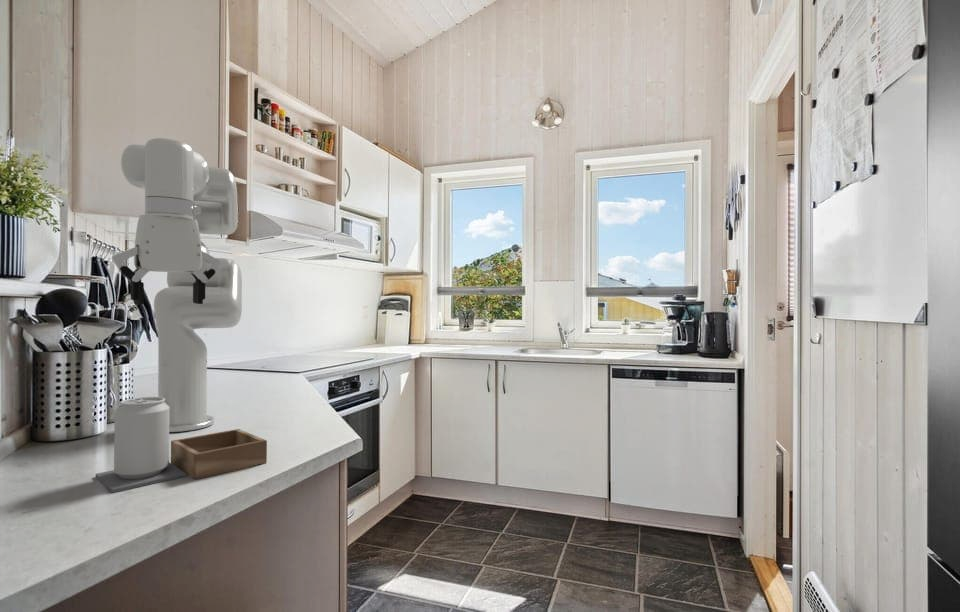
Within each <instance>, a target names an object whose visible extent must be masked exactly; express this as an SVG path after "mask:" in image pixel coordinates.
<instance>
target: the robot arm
mask: <svg viewBox="0 0 960 612" xmlns="http://www.w3.org/2000/svg"><path fill="white" fill-rule="evenodd" d="M120 165H121V171H122V174H123V176H124V178H125V179H126V181H127V182H128V184H130V185H132V186H134V187H136V188H139V189H143V190H144V214H140V215H139V216H138V219H137V220H138V221H137V225H136V231H135V240H134V247H131V248H130V249H126V250H124V251H121V252H118V253H116V254H114V255H112V256H111V260H112V262H113V263H114V265H115V266H116V268H117V269H118V272H120V274H121V275H123V276H124V277H125V278H126V279H127V280H128V281H129V282H130V299H131V301H133V304H134V305H137V306H142V305H144V304H145V303H144V302H145V295H144V294H145V283H144V282H143V281H142V279H143V278H144V277H145V276H146V275H147V274H148V273H149V272H158V273H159V272H160V273H161V272H162V273H167V274H166V284H167V287H164V288H162V289H160V290H159V291H158V292H157V293H156V294H155V296H154V301H153V309H154V316H155V317H154V318H155V321H156V328H157V340H158V342H157V344H158V347H157V348H158V349H157V350H158V355H157V356H158V359H157V361H158V363H157V364H158V367H157V368H158V370H157V371H158V372H157V373H158V376H157V377H158V378H157V383H158V384H157V397H163V398H165V401H164V402H165V403H166V404H167V405H168V406H169V433H177V432H178V433H179V432H188V431H189V432H190V431H194V430H200V429H204V428H208V427H210V426H212V425H213V424H214V423H215V417H214V416H212V415H207V396H208V395H207V393H208V392H207V390H208V389H207V388H208V387H207V385H208V380H207V379H208V349H207V345H206V344H205V342H204V340H203V339H202V337H200V336H199V335H198V334H197V333H196V331H195V330H196V329H198V330H199V329H228V328H233V327H235V326H237V325H238V324H239V322H240V320H241V317H242V309H243V308H242V305H243V303H242V302H243V301H242V300H243V298H242V297H243V293H242V292H243V291H242V289H243V288H242V287H243V286H242V285H243V284H242V281H243V279H242V272H241V271H242V270H241V268H240V265H239V264H238V263H237V261H235V260H234V259H230V258H226V257H225V258H223V257H214V256H212V255H210V250H209V247H207V245H206V244H205V243H204V242H203V241H202V239H201V235H203V234H204V235H218V236H219V235H220V236H228V235H229V236H230V235H232V234H234V233H235V232H236V230H237V229H238V223H239V213H238V211H239V210H238V187H237V182H236V178H235V176H234V174H233V173H232V172H231V171H230V170H229V169H227V168H223V167H217V166H216V167H214V166H209V163H208V162H207V161H206V160H205V158H204V157H203V156H202V155H201V154H200V153H199V152H197V151H194V150H193V149H192V146H190V145H189V143H188V144H187V143H186V142H183V141H180V140H177V139H173V138H172V139H171V138H164V137H163V138H161V137H159V138H158V137H156V138H155V137H154V138H151V139H149V140H147V142H146V143H145V144H130V145H128V146H126V147H125V148H124V150H123V151H122V154H121V158H120ZM132 257H133V265H134V267H135V269H133V270H132V269H131V268H130V267H129V266H127V263H126V260H127V259H130V258H132Z"/></svg>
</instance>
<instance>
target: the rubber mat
mask: <svg viewBox="0 0 960 612" xmlns="http://www.w3.org/2000/svg"><path fill="white" fill-rule="evenodd" d="M185 477H187V474H186V473H185V472H183V471H182V470H180V469H179V468H177V467H176V466H174V465H173V464H171V462H169V465H168V466H167V467H166V468H165V469H164V470H163V471H162V472H161V473H159V474H156V475H153V476H149V477H145V478H137V479H125V478H122V477H120V476H119V475H118V474H116V473H115V472H114V469H113V470H108V471H107V470H106V471H103V472H99V473H95V478H96V479H97V480H98V481H99V482H100V483H101V484H103V486H104V487H106V489H108V491H109V492H110V493H112V494H113V493H118V492H123V491H127V490H131V489H135V488H141V487H145V486H148V485H149V486H150V485H152V484H159V483H162V482H168V481H171V480H176V479H180V478H185Z"/></svg>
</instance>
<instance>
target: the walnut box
mask: <svg viewBox="0 0 960 612" xmlns="http://www.w3.org/2000/svg"><path fill="white" fill-rule="evenodd" d="M267 443H268V440H267V439H265V438H261V437H259V436H256V435H254V434H252V433H249V432H247V431H245V430H242V429H240V428H236V429H231V430H224V431H220V432H219V431H218V432H214V433H207V434H202V435H197V436H191V437H186V438H185V437H184V438H180V439H174V440H171V441H170V463H171V464H173V465H174V466H176V467H177V468H179V469H180V470H182V471H183V472H185V473H186V475H189V477H191V478H193V479H194V480H199V479H203V478H204V477H205V478H208V476H209V477H212V476H213V477H214V476H217V474H218V475H222V474H226V473H230V472H233V470H235V471H239V470H243V469H247V468H250V467H249V466H252V467H254V466H253V465H256V466H259V465H258V464H260V465H263V464H262V463H265V464H267V463H266V462H267V460H268V459H267V454H268V449H267V448H268V447H267V445H268V444H267ZM246 467H247V468H246ZM242 468H243V469H242ZM238 469H239V470H238ZM229 471H230V472H229ZM225 472H226V473H225ZM221 473H222V474H221Z"/></svg>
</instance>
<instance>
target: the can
mask: <svg viewBox="0 0 960 612" xmlns="http://www.w3.org/2000/svg"><path fill="white" fill-rule="evenodd" d="M164 401H165V398H163V397H158V396H144V397H143V396H142V397H133V398H128V399H127V398H126V399H124V400H123V399H122V400H121V401H120V402H119V407H117V409H116V410H115V411H114V433H113V435H114V437H113V438H114V440H113V441H114V443H113V444H114V445H113V446H114V447H113V449H114V450H113V453H114V454H113V457H114V458H113V468H114V469H113V470H114V472H115V473H116V474H118V475H119V476H120V477H122V478H125V479H137V478H145V477H149V476H153V475H156V474H159V473H161V472H162V471H163V470H164V469H165V468H166V467H167V466H168V465H169V463H170V432H169V406H168V405H167V404H166V403H165V402H164Z"/></svg>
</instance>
